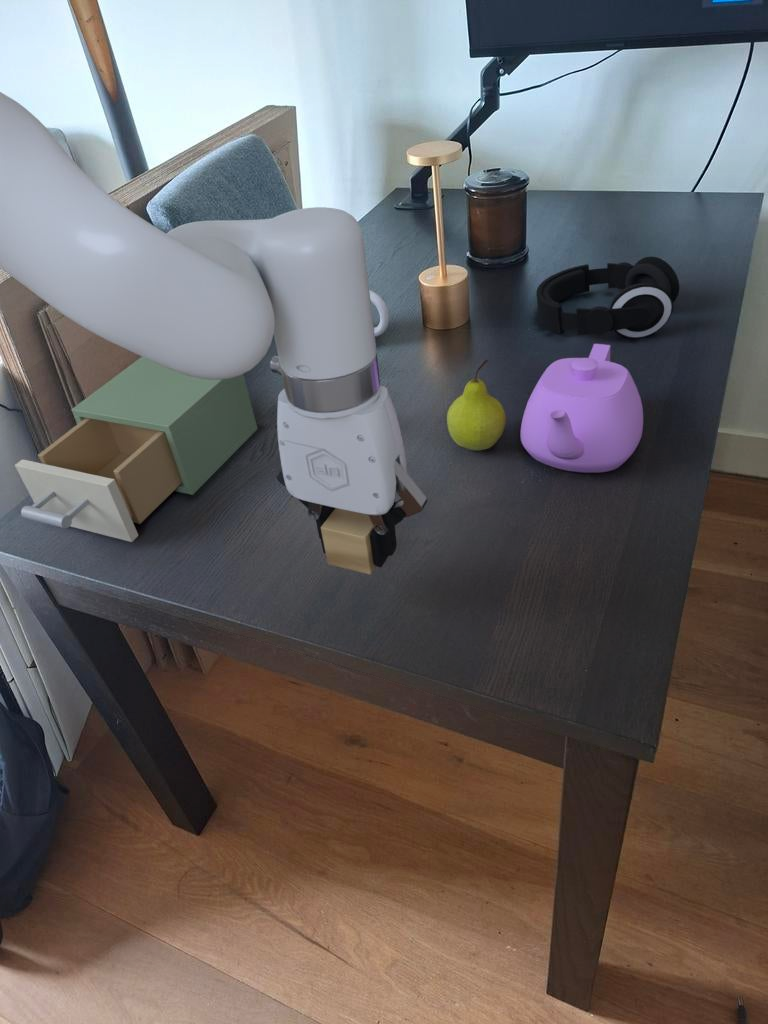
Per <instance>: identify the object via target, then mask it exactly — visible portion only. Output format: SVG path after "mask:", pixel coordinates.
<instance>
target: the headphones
mask: <svg viewBox="0 0 768 1024" xmlns="http://www.w3.org/2000/svg"><path fill="white" fill-rule="evenodd" d="M603 284H604V285H605V284H607V288H608V289H619V290H621V291H619V292H618V293H617V294H616V295H615V297H614V298H613V299H612V301H611V303H610V307H609V308H608V307H605V306H600V305H598V306H594V307H592V308H586V307H585V308H584V307H583V308H582V307H577V308H576V309H575V312H576V313H573V312H566V311H565V312H563V307H562V304H561V303H560V302H562V301H564V300H566V299H568V298H571V297H574V296H576V295H578V294H579V295H580V294H583V293H587V292H590V286H593V285H603ZM535 293H536V302H537V311H538V312H537V313H538V314H537V315H538V322H539V323H540V325H541V326H542V327H543V328H545V329H546V330H548V331H550V332H552V333H555V334H558V335H563V334H565V330H573V331H577V335H578V336H583V335H594V336H602V335H603V336H604V335H605V334H607V333H609V332H615V333H616V334H618V335H620V336H622V337H624V338H629V339H641V338H645V337H648V336H651V335H653V334H655V333H657V332H659V331H660V330H661V329H662V328H663V327H665V325H666V324H667V323H668V321H669V320H670V318H671V316H672V314H673V310H674V303H675V301H676V300H677V299H678V296H679V293H680V281H679V278H678V275H677V273H676V272H675V270H674V268H673V267H672V266H671V265H670V264H669V263H668V262H667V261H665V260H664V259H662V258H660V257H657V256H652V255H651V256H645V257H643V258H641V259H639V260H638V261H637V262H636V263H635V264H631V263H630V262H625V261H623V262H619V263H614V262H613V263H612V262H607V264H606V267H602V268H592V269H590V265H589V264H582V265H578V266H574V267H569V268H566V269H564V270H561V271H559V272H556V273H555V274H552V275H550V276H549V277H546V279H544V280H543V281H542V282H541V283H540V284H539V285H538V287H537V288H536V292H535Z"/></svg>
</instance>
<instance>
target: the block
mask: <svg viewBox="0 0 768 1024" xmlns="http://www.w3.org/2000/svg"><path fill="white" fill-rule="evenodd" d="M373 529H374V528H373V525H372V523H371V520H370V518H369V515H368V514H363V513H358V512H353V511H349V510H344V509H339V508H335V509H334V511H333V512H332V513H331V515H330V516H329V517H328V519H327V520H326V521H325V522H324V524H323V525H322V526H321V532H322V537H323V542H324V547H325V552H326V554H325V556H326V562H327V565H330V566H333V567H338V568H342V569H346V570H350V571H353V572H358V573H361V574H366V575H372V573H373V572H374V571H375V569H376V568H377V566H375V564H374V562H373V555H372V549H371V542H370V533H371V531H372V530H373Z"/></svg>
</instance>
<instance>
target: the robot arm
mask: <svg viewBox="0 0 768 1024" xmlns="http://www.w3.org/2000/svg"><path fill="white" fill-rule="evenodd" d="M365 247H366V246H365V240H364V235H363V231H362V228H361V225H360V224H359V222H358V220H356V218H355V217H354V216H353V215H352V214H350V213H349V212H347V211H346V210H343V209H340V208H334V207H325V206H324V207H321V206H317V207H315V206H314V207H306V208H305V207H304V208H298V209H294V210H290V211H287V212H284V213H281V214H278V215H276V216H274V217H272V218H262V219H261V218H260V219H235V220H234V219H233V220H232V219H226V220H222V219H221V220H220V219H219V220H218V219H217V220H215V219H214V220H199V221H193V222H188V223H187V222H186V223H183V224H181V225H179V226H176V227H175V228H172V229H170V230H169V231H168V232H165V231H163V230H161V229H160V228H158V227H156V226H155V225H153V224H152V223H151V222H148V221H146V220H145V219H144V218H142V217H141V216H139V215H138V214H136V213H135V212H134V211H131V209H129V208H128V207H126V206H125V205H123V204H122V203H120V202H119V201H118V200H117V199H116V198H114V197H113V196H112V195H111V194H109V193H108V192H107V191H106V190H104V189H103V188H102V187H101V186H100V185H98V184H97V183H96V182H95V181H94V180H93V179H92V178H91V177H90V176H89V175H88V174H87V173H86V172H84V171H83V169H81V167H80V166H78V164H77V163H76V162H75V161H74V159H72V158H71V156H70V155H69V154H68V152H67V151H66V150H65V148H64V147H63V146H62V145H61V144H60V142H59V141H58V140H57V139H56V138H55V136H54V135H53V134H52V133H51V132H50V130H49V129H48V128H47V127H46V126H45V124H43V123H42V122H41V121H40V120H39V119H38V118H37V117H36V116H35V115H34V114H33V113H32V112H30V111H29V110H28V109H27V108H25V107H24V106H23V105H22V104H21V103H19V102H18V101H17V100H15V99H13V98H12V97H10V96H8V95H7V94H5V93H3V92H2V91H0V269H1V270H2V271H3V272H5V273H7V274H8V275H9V276H10V277H12V278H13V279H14V280H16V281H17V282H19V283H20V284H22V285H23V286H24V287H25V288H27V289H29V290H30V291H31V292H32V293H34V294H35V295H36V296H37V297H39V298H40V299H41V300H43V301H44V302H46V303H47V304H48V305H49V306H51V307H52V308H54V309H55V310H57V311H58V312H59V313H60V314H62V315H63V316H65V317H66V318H68V319H70V320H71V321H73V322H74V323H76V324H77V325H79V326H81V327H83V328H84V329H86V330H88V331H89V332H91V333H93V334H95V335H96V336H99V337H101V338H102V339H104V340H105V341H108V342H110V343H112V344H115V345H116V346H119V347H121V348H123V349H125V350H127V351H129V352H131V353H133V354H135V355H138V356H140V357H144V358H146V359H148V360H151V361H153V362H155V363H157V364H159V365H162V366H164V367H166V368H169V369H171V370H173V371H176V372H179V373H182V374H185V375H188V376H192V377H196V378H201V379H209V380H222V379H230V378H233V377H237V376H240V375H242V374H243V375H244V374H245V373H248V372H249V371H251V370H252V369H254V368H255V367H256V366H257V365H258V364H260V362H261V361H262V359H264V357H265V356H266V355H267V353H268V351H269V349H270V346H271V344H272V342H273V338H274V343H275V348H276V352H277V355H274V356H272V357H271V360H270V363H269V368H270V371H271V372H272V373H274V374H278V375H279V376H281V379H282V383H283V389H282V390H281V391H280V392H279V394H278V396H277V413H276V426H277V427H276V430H277V442H278V450H279V452H278V453H279V459H280V465H281V468H280V470H279V471H278V473H277V474H276V477H275V478H276V480H277V482H278V483H279V484H281V485H282V486H283V487H285V488H286V490H287V492H288V493H289V494H290V495H291V496H292V497H294V498H296V499H297V500H298V501H299V502H300V503H301V504H302V505H304V507H305V508H306V509H307V515H308V516H309V518H310V519H312V520H314V521H315V523H316V528H317V533H318V538H319V539H320V543H321V548H322V553H323V554H325V555H326V552H325V547H324V542H323V537H322V532H321V526H322V525H323V524H324V522H325V521H326V520H327V519H328V517H329V516H330V515H331V513H332V512H333V511H334V509H335V508H339V509H344V510H349V511H353V512H358V513H363V514H368V515H369V518H370V520H371V523H372V525H373V528H374V529H373V530H372V531H371V533H370V542H371V549H372V555H373V562H374V564H375V566H376V568H382V567H383V566H384V564H385V563H386V561H387V560H388V558H389V557H392V556H393V555H394V553H395V552H396V550H397V544H398V543H397V535H396V526H397V525H398V524H399V523H401V522H402V521H403V520H404V519H405V518H409V517H411V516H413V515H416V514H419V513H421V512H422V511H423V510H424V508H425V507H426V505H427V503H428V497H427V496H426V495H425V493H424V492H423V491H422V490H421V488H420V487H419V486H418V485H417V483H416V482H415V481H414V480H413V479H412V477H411V476H410V475H409V473H408V467H407V459H406V458H407V457H406V452H405V447H404V442H403V436H402V432H401V427H400V423H399V419H398V416H397V412H396V409H395V406H394V404H393V400H392V398H391V395H390V392H389V389H388V388H387V387H386V386H384V385H381V379H380V369H379V360H378V352H377V342H376V337H375V333H374V327H375V326H374V318H373V309H372V302H371V300H370V291H369V290H370V283H369V275H368V266H367V257H366V249H365ZM396 494H397V495H398V496H399V497H400V499H399V500H397V501H396V500H395V499H396Z"/></svg>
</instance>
